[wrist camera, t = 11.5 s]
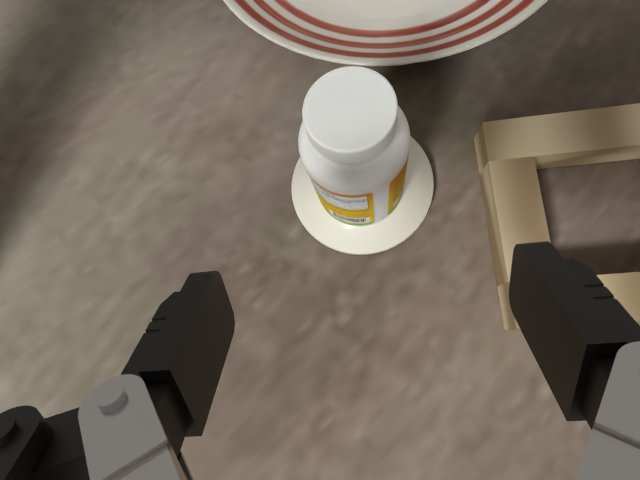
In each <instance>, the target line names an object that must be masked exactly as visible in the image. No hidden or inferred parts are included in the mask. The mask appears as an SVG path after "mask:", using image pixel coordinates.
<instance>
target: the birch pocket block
mask: <svg viewBox="0 0 640 480" xmlns="http://www.w3.org/2000/svg"><path fill="white" fill-rule="evenodd" d="M474 143H475V149H476V155H477V161H478V168H479V174H480V180H481V186H482V193H483V199H484V205H485V211H486V218H487V224H488V230H489V237H490V243H491V249H492V255H493V262H494V268H495V274H496V280H497V287H498V293H499V299H500V305H501V312H502V318H503V324H504V330H509V329H520V327H519V325H518V323H517V321H516V319H515V317H514V315H513V313H512V310H511V307H510V302H509V284H510V275H511V266H512V257H513V250H514V247H515V245H516V244H522V243H533V242H544V241H548V242H550V237H549V231H548V226H547V221H546V216H545V211H544V206H543V201H542V195H541V190H540V185H539V180H538V175H537V169H546V168H556V167H565V166H575V165H584V164H594V163H603V162H613V161H622V160H632V159H640V103H637V104H629V105H620V106H612V107H604V108H595V109H587V110H579V111H570V112H562V113H554V114H545V115H537V116H529V117H520V118H512V119H504V120H495V121H487V122H482V123H481V125H480V127H479V129H478V132H477V134H476V136H475V138H474ZM550 243H551V242H550ZM597 277H598V278H599V279H600V280H601V281H602V282H603V284H604V287H607V288H608V289H609V291H610V292H611V293H612V294H613V295H614V299H617V300H618V301H619V302H620V303H621V305H622V306H623V307H624V308H625V309H626V310H627V312H628V313H629V314H630V315H631V316H632V317H633V319H634V320H635V321H636V322H640V272H630V273H617V274H603V275H597Z"/></svg>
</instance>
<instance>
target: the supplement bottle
mask: <svg viewBox="0 0 640 480" xmlns="http://www.w3.org/2000/svg"><path fill="white" fill-rule="evenodd" d="M302 116H303V122H302V124H301V127H300V131H299V139H298V144H299V153H300V156H301V159H302V162H303V165H304V167H305V169H306V172H307V173H308V175H309V178H310V180H311V182H312V184H313V186H314V188H315V191H316V193H317V195H318V197H319V199H320V202H321V204H322V205H323V207H324V209H325V210H326V211H327V212H328V214H329V215H330V216H332V217H333V218H334V219H336V220H337V221H339V222H341V223H343V224H346V225H349V226H356V227H364V226H370V225H373V224H376V223H378V222H380V221H382V220H384V219H385V218H387V217H388V216H389V215H390V214H391V213H392V212H393V211H394V210H395V208H396V207H397V205H398V204H399V202H400V199H401V197H402V194H403V189H404V183H405V175H406V169H407V162H408V156H409V149H410V130H409V125H408V122H407V119H406V117H405V115H404V113H403V111H402V110H401V108H400V107H399V106H398V101H397V97H396V94H395V91H394V89H393V87H392V86H391V84H390V83H389V82H388V80H387V79H386V78H385V77H384V76H382V75H381V74H379V73H378V72H376V71H374V70H372V69H369V68H365V67H360V66H346V67H341V68H337V69H334V70H332V71H330V72H328V73H326V74H325V75H323V76H322V77H320V78H319V79H318V80H317V81H316V82H315V83H314V84H313V85H312V86H311V88H310V89H309V91H308V93H307V95H306V97H305V100H304V103H303V110H302Z"/></svg>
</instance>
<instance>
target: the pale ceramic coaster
mask: <svg viewBox="0 0 640 480" xmlns="http://www.w3.org/2000/svg"><path fill="white" fill-rule="evenodd" d="M433 187H434V183H433V173H432V169H431V165H430V163H429V160H428V158H427V156H426V154H425V152H424V151H423V149H422V148H421V146H420V145H419V144H418V143H417V142H416V141H415V140H414V139H413V138H412V137H411V136H410V149H409V156H408V162H407V169H406V175H405V183H404V189H403V194H402V197H401V199H400V202H399V204H398V205H397V207H396V208H395V210H394V211H393V212H392V213H391V214H390V215H389V216H388V217H387V218H385V219H384V220H382V221H380V222H378V223H376V224H373V225H370V226H364V227H356V226H349V225H346V224H343V223H341V222H339V221H337V220H336V219H334V218H333V217H332V216H330V215H329V214H328V212H327V211H326V210H325V209H324V207H323V205H322V204H321V202H320V199H319V197H318V195H317V193H316V191H315V188H314V186H313V184H312V182H311V180H310V178H309V175H308V173H307V172H306V169H305V167H304V165H303V162H302V159H301V156H300V158H299V160H298V162H297V164H296V167H295V170H294V173H293V179H292V199H293V204H294V207H295V210H296V213H297V215H298V217H299V219H300V221H301V222H302V224H303V225H304V227H305V228H306V229H307V231H308V232H309V233H310V234H311V235H312V236H313V237H314V238H315V239H316V240H317V241H319V242H320V243H322V244H323V245H325V246H327V247H328V248H330V249H333V250H335V251H338V252H341V253H345V254H350V255H371V254H377V253H381V252H384V251H387V250H390V249H392V248H394V247H396V246H398V245H399V244H401V243H403V242H404V241H405V240H407V239H408V238H409V237H410V236H411V235H412V234H413V233H414V232H415V231H416V230H417V229H418V228H419V226H420V225H421V223H422V222H423V220H424V218H425V217H426V215H427V212H428V210H429V207H430V204H431V200H432V196H433Z"/></svg>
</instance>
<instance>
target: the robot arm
mask: <svg viewBox="0 0 640 480" xmlns="http://www.w3.org/2000/svg"><path fill="white" fill-rule="evenodd" d="M509 302H510V307H511V310H512V313H513V315H514V317H515V319H516V321H517V323H518V325H519V327H520V329H521V331H522V333H523V335H524V337H525V339H526V341H527V343H528V345H529V347H530V349H531V351H532V353H533V355H534V357H535V359H536V361H537V363H538V365H539V367H540V369H541V371H542V373H543V375H544V377H545V379H546V381H547V383H548V384H549V386H550V388H551V390H552V392H553V394H554V396H555V398H556V400H557V402H558V404H559V406H560V408H561V410H562V412H563V414H564V416H565V418H566V420H567V421H582V420H587V422H588V424H589V426H590V428H591V430H592V431H591V434H590V437H589V440H588V444H587V447H586V450H585V453H584V456H583V459H582V462H581V465H580V468H579V471H578V474H577V477H576V480H640V326H639V324H638V323H637V322H636V321H635V320H634V319H633V317H632V316H631V315H630V314H629V313H628V312H627V310H626V309H625V308H624V307H623V306H622V305H621V303H620V302H619V301H618V300H617V299H614V295H613V294H612V293H611V292H610V291H609V289H608V288H607V287H604V284H603V282H602V281H601V280H600V279H599V278H598V277H597V275H596V274H595V273H594V272H593V271H592V270H591V269H590V268H588V267H586V266H584V265H583V264H581V263H579V262H578V261H576V260H574V259H573V258H572V259H563V258H562V257H561V256H560V255H559V253H558V252H557V251H556V249H555V248H554V247H553V246H552V244H551V243H550V242H548V241H544V242H533V243H522V244H516V245H515V247H514V250H513V257H512V266H511V275H510V284H509ZM234 327H235V321H234V313H233V310H232V307H231V304H230V301H229V298H228V295H227V292H226V289H225V286H224V283H223V280H222V277H221V275H220V273H219V272H218V271H210V272H199V273H191V274H190V275H189V276H188V278H187V280H186V281H185V283H184V285H183V287H182V289H181V291H180V292H174V293H173V294H171V295H170V296H169V297H168V298H167V299H166V300H165V301H164V302H163V303H162V304H161V305H160V306H159V308H158V309H157V311H156V313H155V315H154V317H153V318H152V322H150V324H149V325H148V327H147V329H146V333H144V334H143V336H142V338H141V340H140V341H139V343H138V345H137V347H136V348H135V350H134V352H133V354H132V355H131V357H130V359H129V361H128V363H127V364H126V366H125V368H124V370H123V371H122V373H121V375H119V376H116V377H113V378H110V379H108V380H106V381H104V382H103V383H101V384H100V385H98V386H97V387H96V388H94V389H93V390H92V391H91V392H90V393H89V394H88V395H87V396H86V398H85V399H84V400H83V402H82V404H81V406H80V407H79V408H76V409H73V410H70V411H67V412H64V413H61V414H58V415H55V416H52V417H48V418H45V419H44V418H43V416H42V415H41V414H40V412H39V411H38V410H37V409H36V408H35V407H32V406H19V407H15V408H12V409H9V410H7V411H5V412H3V413H1V414H0V480H194V479H193V477H192V475H191V472H190V470H189V467H188V465H187V463H186V460H185V458H184V456H183V454H182V452H181V450H180V449H181V447H182V444H183V441H184V438H185V437H190V436H202V433H203V430H204V427H205V424H206V421H207V417H208V414H209V411H210V408H211V404H212V401H213V398H214V395H215V392H216V388H217V385H218V382H219V379H220V376H221V372H222V369H223V366H224V363H225V360H226V356H227V353H228V350H229V347H230V343H231V340H232V337H233V334H234Z"/></svg>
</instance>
